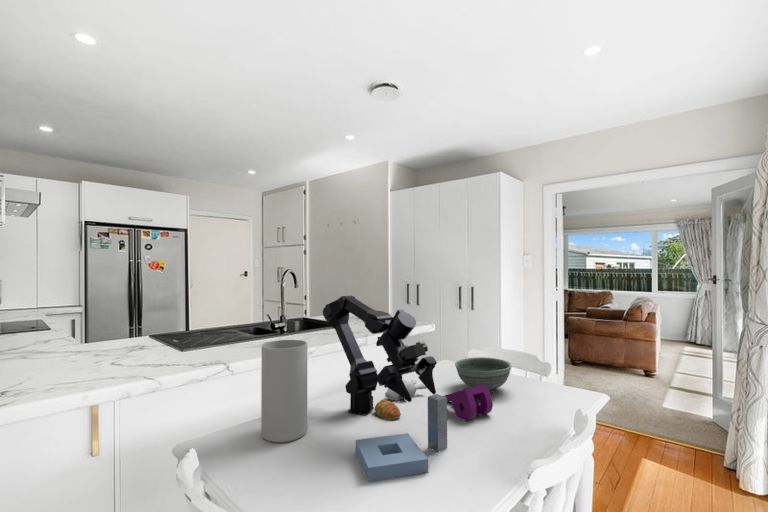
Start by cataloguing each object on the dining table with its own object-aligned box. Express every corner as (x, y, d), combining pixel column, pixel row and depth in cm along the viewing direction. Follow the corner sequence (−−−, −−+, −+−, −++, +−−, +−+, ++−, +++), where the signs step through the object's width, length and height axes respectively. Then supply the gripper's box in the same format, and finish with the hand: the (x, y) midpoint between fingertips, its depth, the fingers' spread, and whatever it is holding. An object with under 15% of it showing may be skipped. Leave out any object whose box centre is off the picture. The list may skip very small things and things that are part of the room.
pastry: (406, 418, 120) (406, 406, 120) (388, 423, 116) (387, 410, 117) (389, 409, 128) (389, 397, 128) (371, 413, 124) (371, 401, 124)
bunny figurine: (379, 386, 139) (411, 374, 148) (381, 400, 139) (412, 387, 148) (396, 393, 131) (428, 379, 140) (398, 408, 131) (430, 393, 140)
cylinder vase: (292, 420, 118) (292, 338, 119) (316, 433, 109) (316, 343, 110) (253, 433, 109) (253, 344, 110) (275, 448, 100) (275, 351, 101)
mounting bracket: (438, 426, 128) (474, 418, 115) (430, 399, 132) (464, 389, 118) (459, 419, 133) (496, 411, 120) (451, 394, 137) (486, 383, 123)
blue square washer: (355, 451, 98) (355, 439, 98) (407, 444, 102) (407, 433, 102) (368, 481, 85) (368, 467, 85) (428, 472, 89) (428, 458, 89)
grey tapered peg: (427, 447, 101) (427, 396, 101) (437, 443, 103) (436, 393, 103) (438, 452, 98) (437, 400, 98) (447, 448, 100) (446, 397, 100)
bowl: (519, 398, 137) (519, 370, 137) (460, 398, 137) (459, 370, 137) (502, 381, 157) (502, 356, 158) (450, 381, 158) (450, 356, 158)
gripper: (383, 336, 103) (412, 388, 94) (431, 328, 115) (461, 374, 106) (365, 360, 109) (391, 411, 100) (413, 351, 121) (440, 395, 112)
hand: (423, 397), depth 105 cm, fingers open, 9 cm apart
